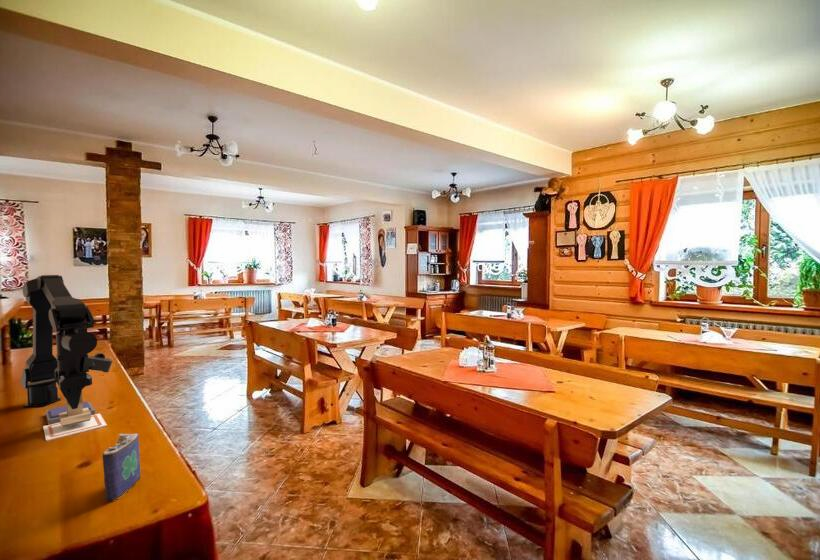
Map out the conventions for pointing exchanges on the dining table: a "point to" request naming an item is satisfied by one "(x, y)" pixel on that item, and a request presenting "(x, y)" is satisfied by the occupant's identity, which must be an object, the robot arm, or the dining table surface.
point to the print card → (73, 427)
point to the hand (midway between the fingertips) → (74, 407)
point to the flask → (121, 466)
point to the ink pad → (54, 412)
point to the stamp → (75, 414)
